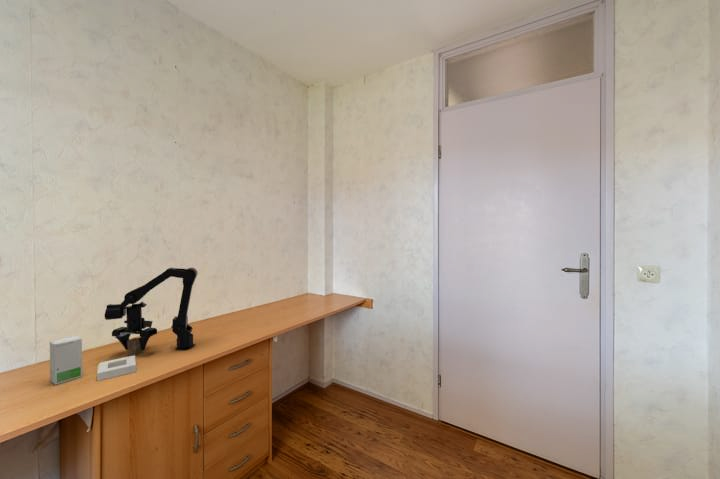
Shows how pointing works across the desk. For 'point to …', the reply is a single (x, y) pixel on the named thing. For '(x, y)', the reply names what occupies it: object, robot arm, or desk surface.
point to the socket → (116, 368)
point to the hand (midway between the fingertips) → (135, 350)
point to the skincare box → (65, 359)
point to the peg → (134, 347)
